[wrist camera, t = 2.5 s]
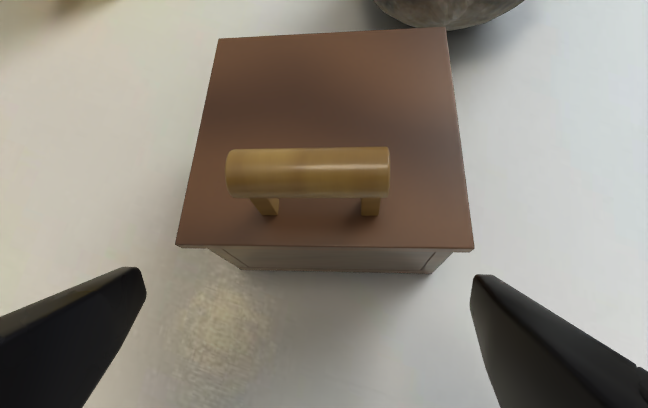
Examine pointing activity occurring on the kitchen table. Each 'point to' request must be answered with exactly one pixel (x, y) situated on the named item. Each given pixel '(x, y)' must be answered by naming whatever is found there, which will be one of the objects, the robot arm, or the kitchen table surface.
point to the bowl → (445, 12)
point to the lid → (330, 146)
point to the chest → (334, 260)
